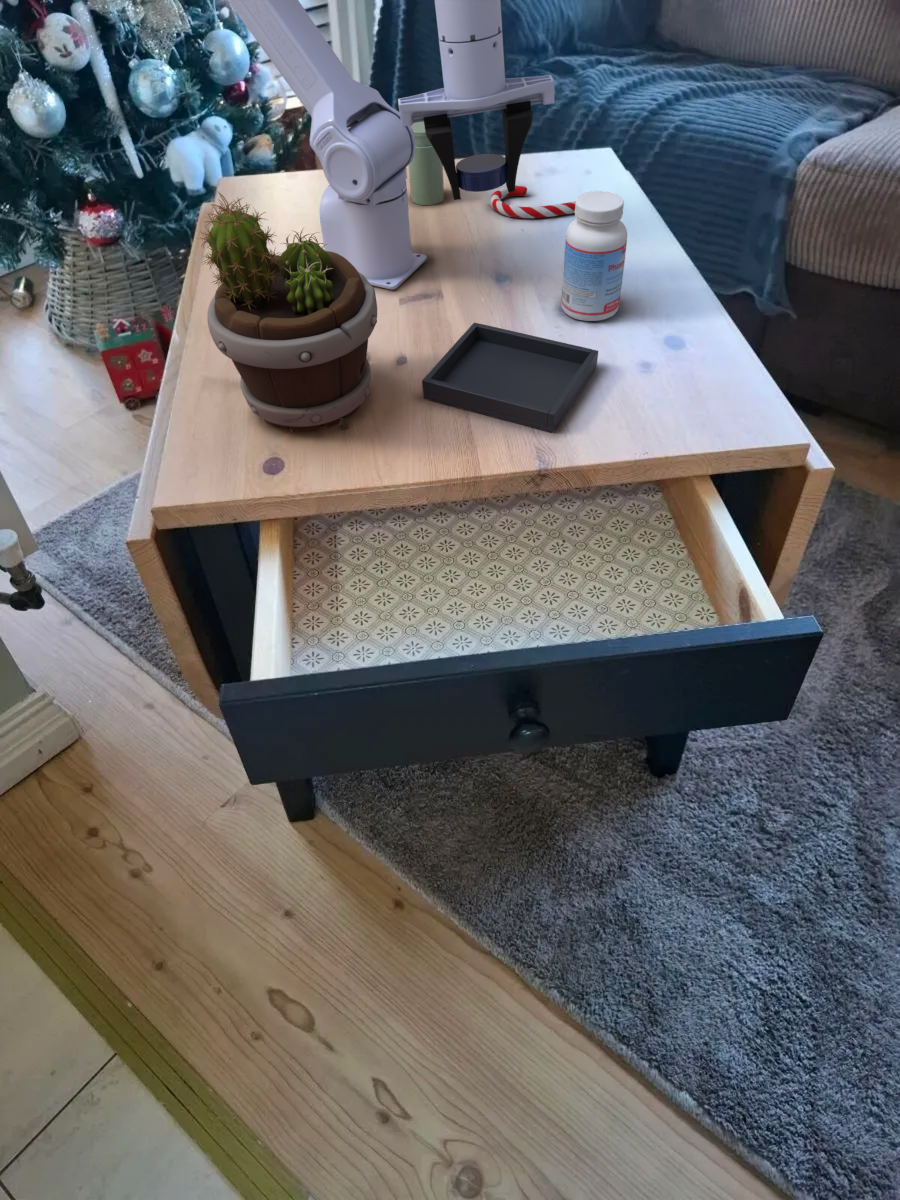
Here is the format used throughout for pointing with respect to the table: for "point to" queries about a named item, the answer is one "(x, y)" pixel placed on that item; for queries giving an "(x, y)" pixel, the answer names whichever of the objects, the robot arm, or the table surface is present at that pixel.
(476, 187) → the jar lid
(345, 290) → the flowerpot
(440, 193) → the jar
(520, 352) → the tray
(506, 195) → the candy cane
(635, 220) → the table surface
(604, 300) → the pill bottle
